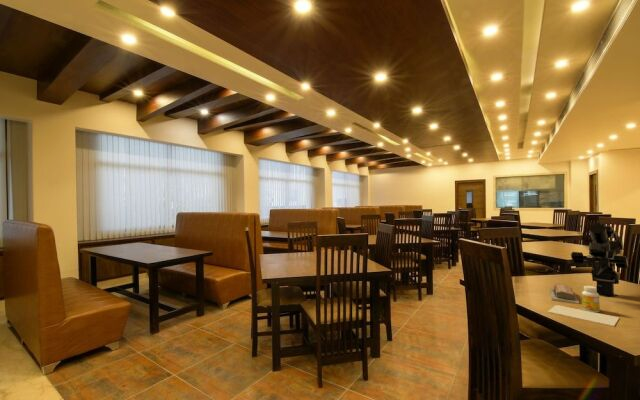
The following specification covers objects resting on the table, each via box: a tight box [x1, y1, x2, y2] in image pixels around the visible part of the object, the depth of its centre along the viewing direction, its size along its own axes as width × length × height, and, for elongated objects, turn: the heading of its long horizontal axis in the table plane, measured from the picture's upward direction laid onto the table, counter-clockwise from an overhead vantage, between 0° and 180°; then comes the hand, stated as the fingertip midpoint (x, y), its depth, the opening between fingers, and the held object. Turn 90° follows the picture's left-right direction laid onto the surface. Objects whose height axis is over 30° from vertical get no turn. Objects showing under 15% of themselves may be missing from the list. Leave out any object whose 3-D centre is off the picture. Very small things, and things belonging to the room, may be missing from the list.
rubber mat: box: [547, 304, 620, 327], centre depth 122 cm, size 12×20×1 cm, turn 39°
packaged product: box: [549, 283, 580, 305], centre depth 145 cm, size 18×5×10 cm
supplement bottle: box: [581, 285, 600, 313], centre depth 127 cm, size 5×5×10 cm
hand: (596, 274), depth 135 cm, fingers closed
